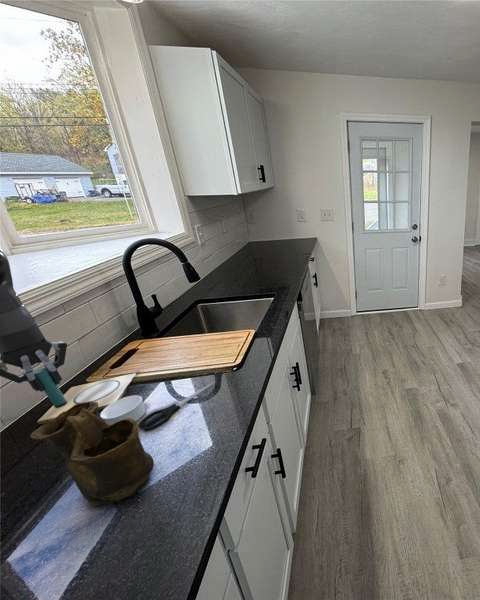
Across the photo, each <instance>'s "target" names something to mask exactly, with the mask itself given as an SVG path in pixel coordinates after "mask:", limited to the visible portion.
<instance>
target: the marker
mask: <svg viewBox="0 0 480 600" xmlns="http://www.w3.org/2000/svg"><path fill="white" fill-rule="evenodd" d="M33 373H34V375H35V378H38V380H39V381H40V383H41V384H42V386H43V387H44V389H45V390H44V391H43V392H44V393H45V395H46V396H47V398H48V400H49V401H50V403H51V404H52V406H53V405H54V407H55V408H60V407H62V406H64V405H66V404H67V401H66V399H65V397H64V396H63V395H64V394H63V393H62V391H61V389H60V388H59V386H58V384H57V385H56V383H55V382H54V380H53V378H52V377H51V375H50V374H49V372H48V370H47V369H46V368H45V367H42V368H39V369H36V370H33Z"/></svg>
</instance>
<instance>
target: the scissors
mask: <svg viewBox="0 0 480 600" xmlns="http://www.w3.org/2000/svg"><path fill="white" fill-rule="evenodd" d="M214 384H215V381H213V382H211V383H210V384H208V385H206V386H204V387H202V388H201V389H199V390H198V391H196V392H194V393H192V394H191V395H189V396H187V397H186V398H184V399H182V400H181V401H179V402H178V403H177V404H176V403H173V404H172V405H170V406H168V407H165V408H162V409H158V410H155V411H152V412H151V413H149V414H147V416H145V417H144V418H143V419H142V420H140V422H139V423H138V425H139V426H138V428H139V429H143V431H145V432H149V431H153V430H156V429H157V428H159V427H161V426H163V425H165V424H166V423H167V422H169V421H170V419H171V418H172V416H173V415H174V414H175V413H176V412H177V411H179V410H180V409H181V406H183V405H185V404H186V403H188V402H189V401H190V400H193V398H195V397H196V396H198V395H200V394H201V393H203V392H204V391H206V390H207V389H209V388H210V387H211V386H213V385H214ZM154 416H155V417H154ZM165 417H166V418H165ZM163 418H164V419H163ZM149 419H150V420H149ZM148 420H149V421H148ZM159 421H160V422H159Z"/></svg>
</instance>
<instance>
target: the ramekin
mask: <svg viewBox="0 0 480 600" xmlns="http://www.w3.org/2000/svg"><path fill="white" fill-rule="evenodd" d="M145 413H146V408H145V404H144V401H143V397H142V396H140V395H129V396H125V397H122V398H121V399H120V400H117V401H115V402H113V403H112V404H110V405H109V406H107V407H106V408H105V409H102V411H101V412H100V413H99V415H100V417H101V419H102V421H103V422H105V423H106V424H114V423H115V422H118V421H120V420H122V419H126V418H133V420H135V421H136V422H137V421H139V420H140V419H141V418H142V417H143V416H144V415H145Z"/></svg>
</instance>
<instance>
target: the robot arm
mask: <svg viewBox="0 0 480 600" xmlns="http://www.w3.org/2000/svg"><path fill="white" fill-rule="evenodd" d="M12 276H13V275H12V270H11V266H10V261H9V259H8V257H7V255H6V254H5V252H4V251H3V250H2V249H1V248H0V377H1V378H4V379H6V380H9V381H12V382H15V383H17V384H21V383H24V382H28V384H29V385H30V387H31V388H32V390H34V391H35V392H45V391H44V390H45V389H44V387H43V386H42V384H41V383H40V381H39V380H38V378H35V375H34V373H33V372H34V369H33V366H34V365H36V364H41V366H43V368H46V369H47V370H48V372H49V374H50V375H51V377H52V378H53V380H54V382H55V383H56V385H57V386H58V385H59V384H61V381H62V380H63V378H62V376H61V374H60V373H59V371H58V368H60V367H62V366H64V365H65V360H66V354H67V348H68V343H67V342H65V341H61V340H59V341H57V342H51V341H50V340H47V339H46V337H45V335H44V334H43V332H42V330H41V329H40V327H39V325H38V324H37V322H36V319H35V318H34V317H33V316H32V314H31V312H30V311H29V310H28V308H26V306H25V305H24V304H23V301H22V300H21V298H20V297H19V295H18V294H17V292H16V291H15V288H14V282H13V277H12ZM51 349H52V350H53V351H55V352H54V358H53V362H52V361H51V360H50V358H48V357H49V354H50V352H51ZM7 365H10V366H14V367H16V368H17V367H18V368H19V370H20V371H21V373H22V375H17V374H15V373H13V372H10V371H8V370H9V368H8V367H7Z"/></svg>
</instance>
